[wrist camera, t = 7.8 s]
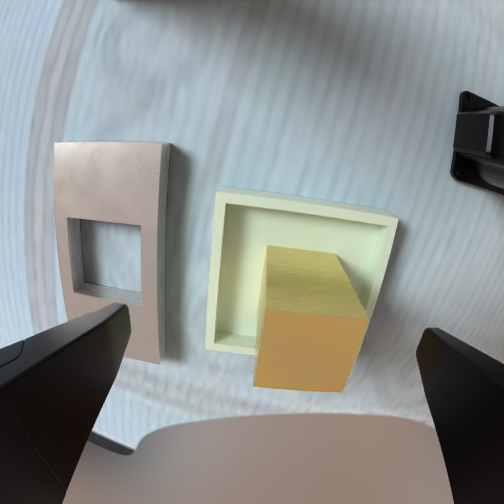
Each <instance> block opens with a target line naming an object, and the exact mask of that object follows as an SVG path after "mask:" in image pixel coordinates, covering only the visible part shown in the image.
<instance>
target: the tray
mask: <svg viewBox="0 0 504 504" xmlns="http://www.w3.org/2000/svg"><path fill="white" fill-rule="evenodd" d="M398 219H399V218H397V217H396V216H394V215H393V214H391V213H390V212H389V211H386V210H380V209H375V208H369V207H363V206H358V205H352V204H346V203H340V202H333V201H327V200H321V199H314V198H307V197H301V196H294V195H286V194H279V193H272V192H264V191H256V190H248V189H239V188H231V187H222V186H221V187H220V188H219V189H218V190H217V191H216V200H215V211H214V222H213V234H212V247H211V260H210V274H209V288H208V304H207V321H206V340H205V349H210V350H217V351H224V352H232V353H239V354H247V355H255V346H256V330H257V314H258V302H259V296H260V289H261V282H262V275H263V268H264V261H265V254H266V247H267V245H273V246H281V247H288V248H296V249H304V250H311V251H319V252H327V253H334V254H336V256H337V258H338V260H339V262H340V264H341V266H342V267H343V269H344V271H345V273H346V275H347V277H348V279H349V281H350V283H351V284H352V286H353V288H354V290H355V292H356V294H357V296H358V298H359V300H360V302H361V304H362V306H363V308H364V310H365V312H366V314H367V316H368V318H369V320H368V323H367V326H366V329H365V332H364V335H363V338H362V340H361V343H360V346H359V349H358V352H357V354H356V357H355V360H354V362H353V363H355V362H356V360H357V357H358V354H359V352H360V349H361V346H362V343H363V341H364V338H365V335H366V332H367V329H368V326H369V323H370V320H371V317H372V314H373V311H374V308H375V305H376V302H377V298H378V295H379V292H380V288H381V285H382V282H383V278H384V275H385V271H386V267H387V264H388V260H389V256H390V252H391V248H392V245H393V241H394V236H395V232H396V228H397V224H398Z"/></svg>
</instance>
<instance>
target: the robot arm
mask: <svg viewBox="0 0 504 504" xmlns="http://www.w3.org/2000/svg"><path fill="white" fill-rule="evenodd" d="M465 96H467V98H468V100H466V99H465ZM453 148H454V152H453V158H452V164H451V170H450V173H451V176H452V177H453V178H454V179H457V180H460V181H463V182H467V183H470V184H473V185H476V186H479V187H482V188H485V189H488V190H491V191H494V192H497V193H500V194H503V195H504V106H501V107H500V106H498V105H496V104H494V103H492V102H490V101H488V100H486V99H484V98H482V97H479V96H477V95H475V94H473V93H471V92H469V91H463V92H461V93H460V97H459V110H458V114H457V120H456V129H455V137H454V145H453ZM457 169H458V171H459V173H458V175H456V171H457ZM130 336H131V322H130V314H129V308H128V306H127V305H126V304H121V303H112V304H110V305H107V306H105V307H103V308H100V309H98V310H95V311H93V312H90V313H88V314H85V315H83V316H80V317H78V318H76V319H73V320H71V321H68V322H66V323H63V324H61V325H58V326H56V327H53V328H51V329H49V330H46V331H44V332H41V333H39V334H36V335H34V336H31V337H29V338H27V339H25V341H24V340H21V341H19V342H17V343H14V344H12V345H9V346H7V347H4V348H1V349H0V504H62V502H63V500H64V497H65V494H66V491H67V489H68V486H69V484H70V481H71V479H72V476H73V473H74V471H75V469H76V466H77V464H78V461H79V459H80V456H81V454H82V452H83V449H84V447H85V444H86V442H87V440H88V438H89V435H90V433H91V431H92V428H93V426H94V424H95V422H96V419H97V417H98V415H99V413H100V410H101V408H102V406H103V404H104V402H105V400H106V397H107V395H108V393H109V391H110V389H111V387H112V385H113V382H114V380H115V378H116V376H117V373H118V370H119V368H120V365H121V362H122V359H123V356H124V353H125V350H126V347H127V344H128V341H129V339H130ZM416 357H417V361H418V365H419V370H420V374H421V378H422V383H423V387H424V392H425V396H426V399H427V402H428V405H429V409H430V412H431V415H432V418H433V422H434V425H435V428H436V432H437V435H438V438H439V442H440V446H441V449H442V453H443V457H444V461H445V465H446V469H447V473H448V477H449V481H450V486H451V491H452V495H453V500H454V504H504V364H502V363H501V362H499V361H497V360H495V359H494V358H492V357H490V356H488V355H486V354H485V353H483V352H481V351H479V350H477V349H476V348H474V347H472V346H470V345H468V344H467V343H465V342H463V341H461V340H459V339H457V338H456V337H454V336H452V335H450V334H448V333H446V332H445V331H443V330H441V329H439V328H426V329H425V330H424V332H423V335H422V337H421V340H420V342H419V345H418V347H417V351H416Z"/></svg>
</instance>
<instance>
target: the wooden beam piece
mask: <svg viewBox="0 0 504 504" xmlns="http://www.w3.org/2000/svg"><path fill="white" fill-rule="evenodd" d="M368 320H369V318H368V316H367V314H366V312H365V310H364V308H363V306H362V304H361V302H360V300H359V298H358V296H357V294H356V292H355V290H354V288H353V286H352V284H351V283H350V281H349V279H348V277H347V275H346V273H345V271H344V269H343V267H342V266H341V264H340V262H339V260H338V258H337V256H336V254H334V253H327V252H319V251H311V250H304V249H296V248H288V247H281V246H273V245H267V247H266V254H265V261H264V268H263V275H262V282H261V289H260V296H259V302H258V314H257V330H256V346H255V362H254V377H253V386H255V387H264V388H275V389H287V390H301V391H318V392H342V390H343V388H344V386H345V383H346V381H347V378H348V375H349V373H350V370H351V368H352V365H353V362H354V360H355V357H356V354H357V352H358V349H359V346H360V343H361V340H362V338H363V335H364V332H365V329H366V326H367V323H368Z"/></svg>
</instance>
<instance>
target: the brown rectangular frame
mask: <svg viewBox="0 0 504 504" xmlns="http://www.w3.org/2000/svg"><path fill="white" fill-rule="evenodd" d="M170 147H171V143H161V142H135V141H68V142H58V143H54V209H55V226H56V239H57V250H58V260H59V268H60V276H61V283H62V290H63V296H64V302H65V308H66V313H67V319H68V321H71V320H73V319H76V318H78V317H80V316H83V315H85V314H88V313H90V312H93V311H95V310H98V309H100V308H103V307H105V306H107V305H110V304H112V303H121V304H126V305H127V306H128V308H129V314H130V322H131V336H130V339H129V341H128V344H127V347H126V350H125V353H124V357H128V358H132V359H137V360H141V361H146V362H151V363H156V364H160V363H161V361H162V359H163V356H164V354H165V352H166V337H165V231H166V207H167V188H168V173H169V160H170ZM80 219H88V220H97V221H106V222H115V223H123V224H132V225H141V280H142V293H140V292H134V291H128V290H123V289H117V288H112V287H106V286H101V285H96V284H91V283H85V280H84V271H83V260H82V247H81V231H80Z"/></svg>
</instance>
